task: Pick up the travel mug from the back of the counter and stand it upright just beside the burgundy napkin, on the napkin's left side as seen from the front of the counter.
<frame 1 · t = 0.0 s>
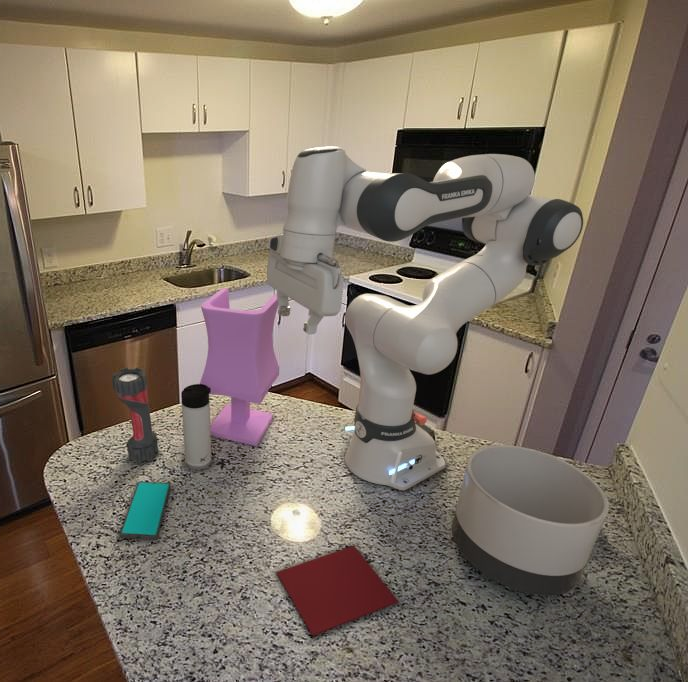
hand: (295, 323, 85), 39 cm above the countertop, tool pointing down, fingers open, 8 cm apart
vase: (240, 426, 123), on the countertop
travel mug: (199, 462, 110), on the countertop
flashlight: (139, 457, 113), on the countertop
napkin: (335, 587, 79), on the countertop
planter: (508, 559, 83), on the countertop
smartphone: (147, 510, 96), on the countertop
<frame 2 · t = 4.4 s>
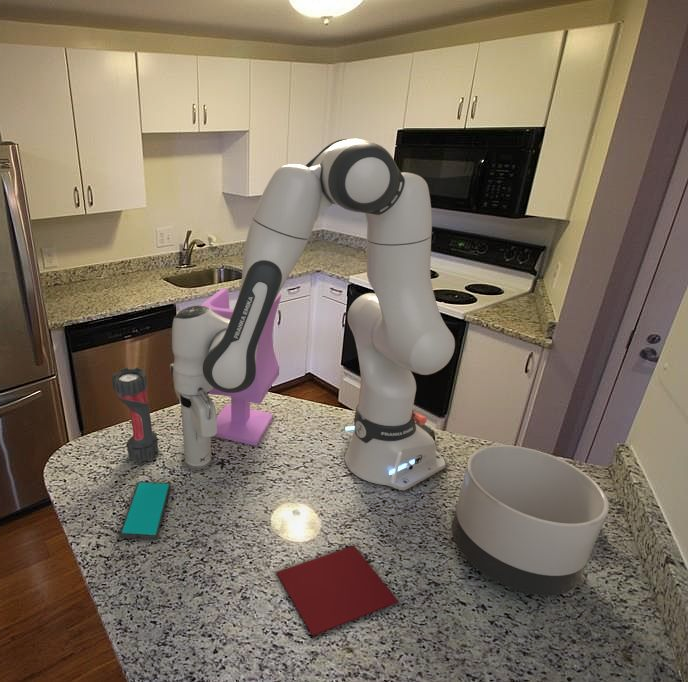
hand: (195, 431, 107), 9 cm above the countertop, tool pointing down, fingers closed on travel mug, 6 cm apart
travel mug: (199, 462, 110), on the countertop, touching arm, gripper
everything else where it was.
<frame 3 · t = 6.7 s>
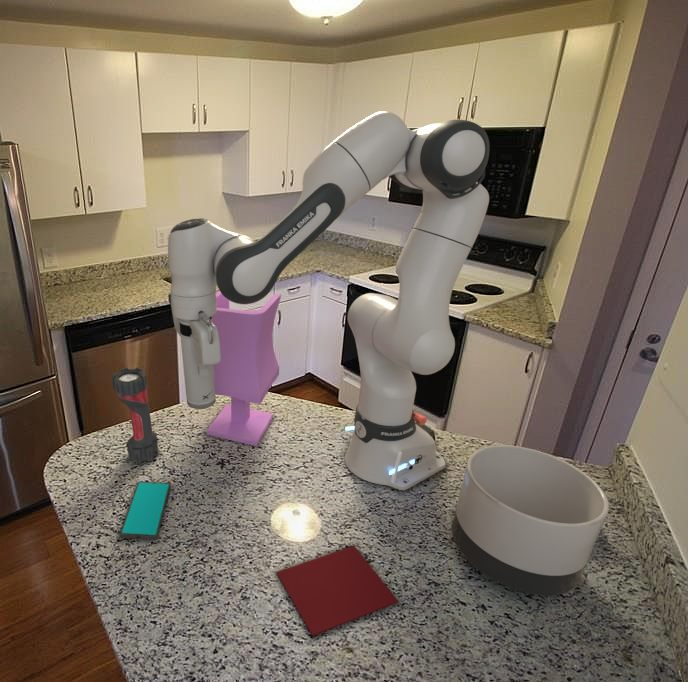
hand: (197, 366, 97), 27 cm above the countertop, tool pointing down, fingers closed on travel mug, 6 cm apart
travel mug: (202, 402, 101), point 18 cm above the countertop, touching arm, gripper
everything else where it was.
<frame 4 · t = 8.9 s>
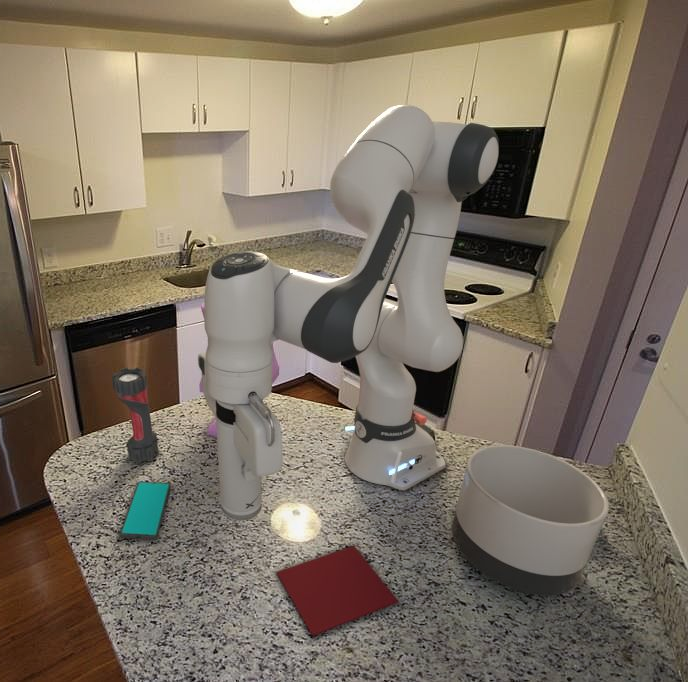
hand: (238, 460, 68), 27 cm above the countertop, tool pointing down, fingers closed on travel mug, 6 cm apart
travel mug: (242, 507, 71), point 19 cm above the countertop, touching arm, gripper
everything else where it was.
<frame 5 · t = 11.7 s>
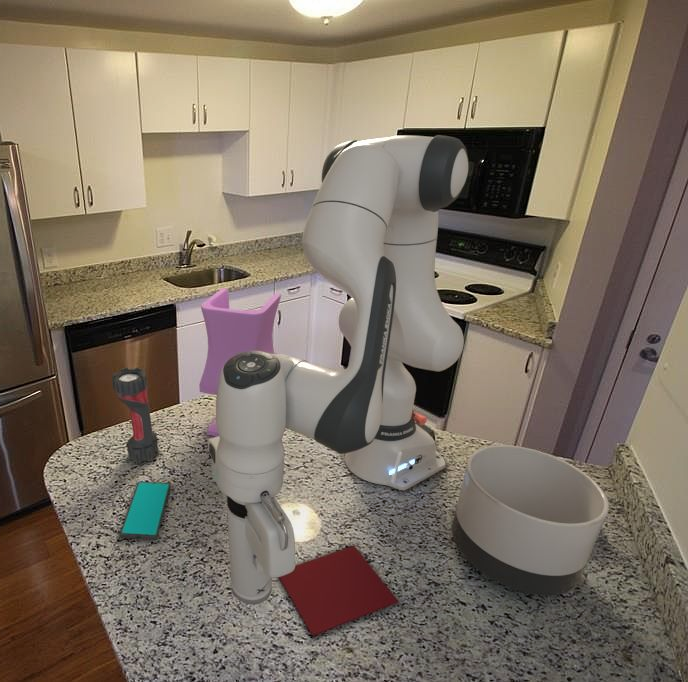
hand: (249, 545, 68), 16 cm above the countertop, tool pointing down, fingers closed on travel mug, 6 cm apart
travel mug: (252, 588, 71), point 7 cm above the countertop, touching arm, gripper
everything else where it was.
when the fingers open (9 cm above the countertop, at t = 13.9 s): travel mug stays where it is, on the countertop.
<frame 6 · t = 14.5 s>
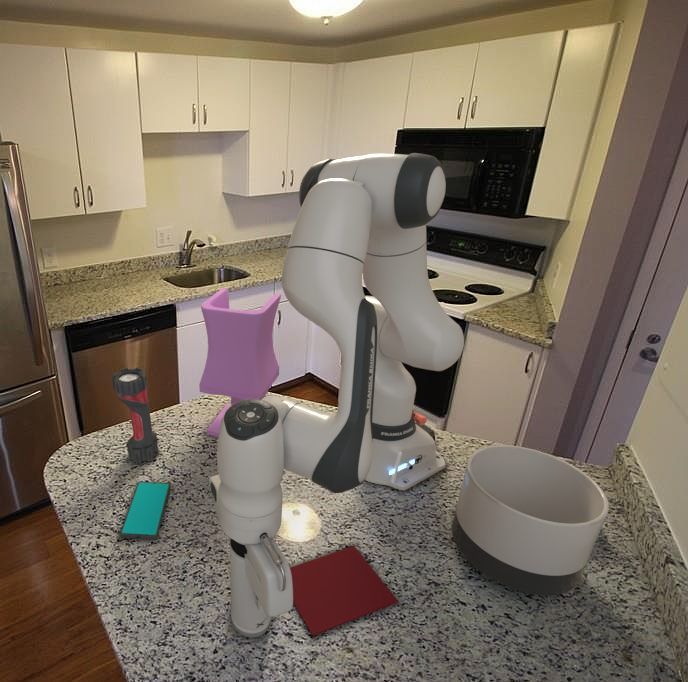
hand: (249, 580, 71), 9 cm above the countertop, tool pointing down, fingers open, 8 cm apart
travel mug: (251, 620, 74), on the countertop
everything else where it was.
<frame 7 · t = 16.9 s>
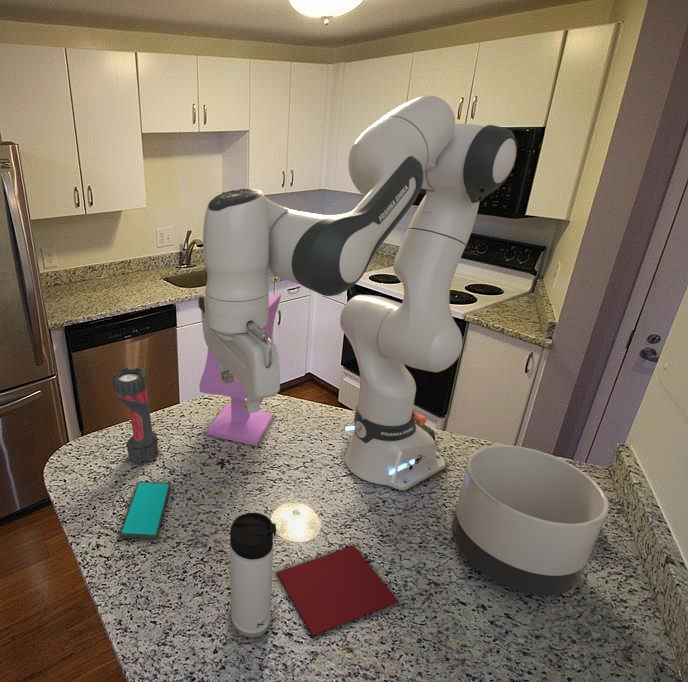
hand: (238, 394, 72), 34 cm above the countertop, tool pointing down, fingers open, 8 cm apart
nothing on the countertop moved.
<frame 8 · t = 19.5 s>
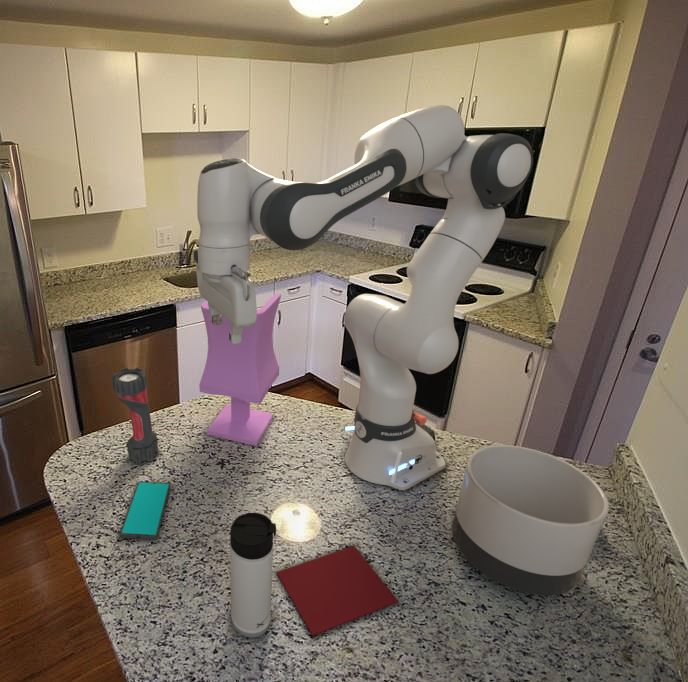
hand: (225, 332, 86), 37 cm above the countertop, tool pointing down, fingers open, 8 cm apart
nothing on the countertop moved.
at the end: travel mug inside the target area on the countertop beside the napkin (1.2 cm from its centre), on the countertop; travel mug tilted 0° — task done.
